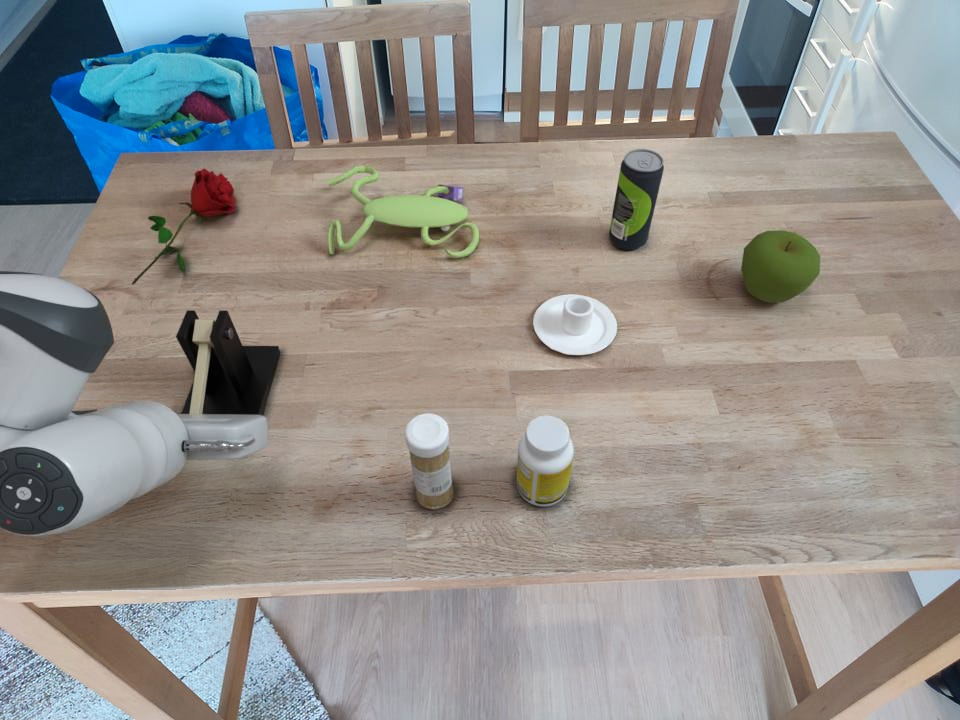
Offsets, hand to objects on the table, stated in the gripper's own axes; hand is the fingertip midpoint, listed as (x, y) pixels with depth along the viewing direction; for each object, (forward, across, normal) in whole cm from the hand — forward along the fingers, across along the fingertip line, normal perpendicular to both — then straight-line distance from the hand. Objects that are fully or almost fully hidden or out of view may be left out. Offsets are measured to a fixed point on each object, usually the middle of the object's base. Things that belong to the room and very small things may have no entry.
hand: (199, 421), depth 78 cm
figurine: (+36, -19, -27) cm, 49 cm away
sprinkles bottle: (-1, -28, +8) cm, 29 cm away
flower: (+32, +14, -23) cm, 42 cm away
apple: (+24, -76, -16) cm, 81 cm away
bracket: (+10, 0, -2) cm, 11 cm away
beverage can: (+33, -57, -24) cm, 70 cm away
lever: (+2, 0, -5) cm, 5 cm away
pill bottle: (0, -41, +8) cm, 41 cm away
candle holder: (+19, -47, -11) cm, 51 cm away
